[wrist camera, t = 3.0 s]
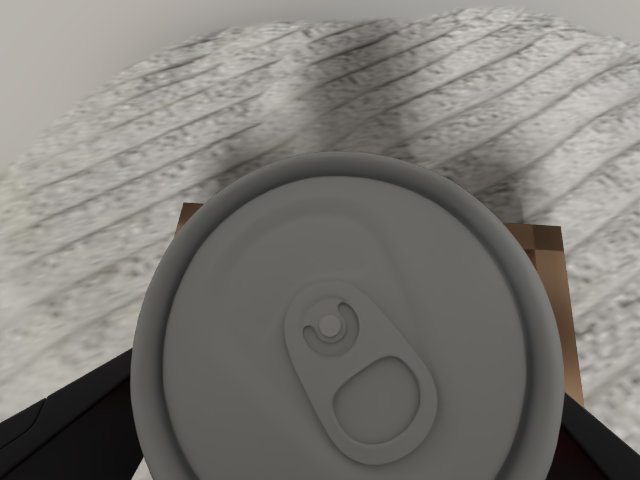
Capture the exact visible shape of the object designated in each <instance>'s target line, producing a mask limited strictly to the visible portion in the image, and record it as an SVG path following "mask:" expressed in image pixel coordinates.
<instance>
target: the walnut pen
mask: <svg viewBox="0 0 640 480" xmlns="http://www.w3.org/2000/svg"><path fill="white" fill-rule="evenodd" d="M203 205H204V204H199V203H183V207H182V210H181V214H180V218H179V221H178V225H177V229H176V232H175V236H176V235H177V233H178V232H179V231H180V229H181V228H182V227H183V226H184V225H185V223H186V222H187V221H188V220H189V219H190V218H191V217H192V216H193V215H194V214H195V213H196V212H197V211H198V210H199V209H200V208H201V207H202V206H203ZM503 224H504V226H505V227H506V228H507V229H508V230H509V231H510V233H511V234H512V235H513V236H514V237H515V239H516V240H517V241H518V243H519V244H520V245H521V247H522V248H523V250H524V251H525V253H526V254H527V256H528V257H529V259H530V261H531V262H532V264H533V266H534V268H535V269H536V271H537V273H538V275H539V277H540V279H541V281H542V284H543V286H544V288H545V291H546V293H547V296H548V299H549V301H550V304H551V307H552V310H553V313H554V317H555V320H556V324H557V328H558V332H559V337H560V342H561V348H562V356H563V364H564V378H565V392H566V393H567V394H568V395H569V396H570V397H572V398H573V399H574V400H575V401H576V402H578V403H579V404H580V405H581V406H582V407H583V408H584V401H583V393H582V385H581V378H580V370H579V362H578V355H577V347H576V339H575V332H574V324H573V317H572V309H571V301H570V294H569V286H568V278H567V271H566V263H565V255H564V248H563V240H562V233H561V226H547V225H531V224H515V223H503ZM175 236H174V237H175Z"/></svg>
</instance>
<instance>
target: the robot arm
mask: <svg viewBox="0 0 640 480" xmlns="http://www.w3.org/2000/svg"><path fill="white" fill-rule="evenodd" d="M132 350H133V348H131V349H129V350H128V351H126V352H124V353H122V354H121V355H119V356H117V357H116V358H114V359H112V360H110V361H109V362H107V363H105V364H103V365H102V366H100V367H98V368H96V369H95V370H93V371H91V372H89V373H88V374H86V375H84V376H82V377H81V378H79V379H77V380H75V381H74V382H72V383H70V384H68V385H67V386H65V387H63V388H61V389H60V390H58V391H56V392H54V393H53V394H51V395H49V396H48V397H47V399H46V398H44V399H42V400H40V401H39V402H37V403H35V404H33V405H32V406H30V407H28V408H26V409H25V410H23V411H21V412H19V413H17V414H15V415H14V416H12V417H10V418H8V419H6V420H5V421H3V422H1V423H0V480H131V479H132V477H133V475H134V473H135V472H136V470H137V468H138V466H139V464H140V463H141V461H142V459H143V457H144V455H143V452H142V449H141V446H140V442H139V439H138V435H137V431H136V426H135V421H134V416H133V410H132V403H131V389H130V380H131V360H132ZM545 480H640V455H639V454H638V453H636V452H635V451H634V450H633V449H632V448H630V447H629V446H628V445H627V444H626V443H625V442H623V441H622V440H621V439H620V438H619V437H618V436H616V435H615V434H614V433H613V432H612V431H610V430H609V429H608V428H607V427H606V426H605V425H603V424H602V423H601V422H600V421H599V420H598V419H596V418H595V417H594V416H593V415H592V414H590V413H589V412H588V411H587V410H586V409H585V408H583V407H582V406H581V405H580V404H579V403H578V402H576V401H575V400H574V399H573V398H572V397H570V396H569V395H568V394H567V393H566V392H565V394H564V404H563V411H562V418H561V425H560V430H559V435H558V441H557V446H556V449H555V453H554V457H553V460H552V464H551V466H550V469H549V472H548V474H547V477H546V479H545Z"/></svg>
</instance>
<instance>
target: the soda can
mask: <svg viewBox="0 0 640 480" xmlns="http://www.w3.org/2000/svg"><path fill="white" fill-rule="evenodd" d="M130 389H131V403H132V410H133V416H134V421H135V426H136V431H137V435H138V439H139V442H140V446H141V449H142V452H143V455H144V458H145V461H146V464H147V466H148V468H149V471H150V473H151V476H152V478H153V480H545V479H546V477H547V474H548V472H549V469H550V466H551V464H552V460H553V457H554V453H555V449H556V446H557V441H558V435H559V430H560V425H561V418H562V411H563V404H564V394H565V378H564V364H563V356H562V348H561V342H560V337H559V332H558V328H557V324H556V320H555V317H554V313H553V310H552V307H551V304H550V301H549V299H548V296H547V293H546V291H545V288H544V286H543V284H542V281H541V279H540V277H539V275H538V273H537V271H536V269H535V268H534V266H533V264H532V262H531V261H530V259H529V257H528V256H527V254H526V253H525V251H524V250H523V248H522V247H521V245H520V244H519V243H518V241H517V240H516V239H515V237H514V236H513V235H512V234H511V233H510V231H509V230H508V229H507V228H506V227H505V226H504V224H503V223H502V222H501V221H500V220H499V219H498V218H497V217H496V216H495V215H494V214H493V213H492V212H491V211H490V210H489V209H488V208H487V207H486V206H485V205H483V204H482V203H481V202H480V201H479V200H478V199H476V198H475V197H474V196H472V195H471V194H470V193H469V192H467V191H466V190H464V189H463V188H462V187H460V186H459V185H457V184H456V183H454V182H453V181H451V180H449V179H447V178H445V177H443V176H441V175H439V174H437V173H435V172H433V171H431V170H428V169H426V168H423V167H421V166H418V165H416V164H413V163H410V162H406V161H403V160H399V159H396V158H392V157H387V156H382V155H376V154H371V153H362V152H347V151H334V152H315V153H307V154H302V155H297V156H293V157H289V158H286V159H283V160H279V161H276V162H274V163H271V164H268V165H266V166H263V167H261V168H259V169H256V170H254V171H252V172H250V173H248V174H246V175H245V176H243V177H241V178H239V179H238V180H236V181H234V182H233V183H231V184H230V185H228V186H227V187H225V188H224V189H222V190H221V191H220V192H218V193H217V194H216V195H215V196H213V197H212V198H211V199H210V200H208V201H207V202H206V203H205V204H204V205H203V206H202V207H201V208H200V209H199V210H198V211H197V212H196V213H195V214H194V215H193V216H192V217H191V218H190V219H189V220H188V221H187V222H186V223H185V225H184V226H183V227H182V228H181V229H180V231H179V232H178V233H177V235H176V236H175V237H174V239H173V240H172V242H171V244H170V245H169V247H168V248H167V250H166V252H165V254H164V256H163V257H162V259H161V261H160V263H159V265H158V267H157V269H156V271H155V273H154V276H153V278H152V280H151V282H150V285H149V287H148V289H147V292H146V294H145V298H144V301H143V304H142V308H141V311H140V314H139V317H138V322H137V327H136V332H135V337H134V342H133V350H132V360H131V380H130Z"/></svg>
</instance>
